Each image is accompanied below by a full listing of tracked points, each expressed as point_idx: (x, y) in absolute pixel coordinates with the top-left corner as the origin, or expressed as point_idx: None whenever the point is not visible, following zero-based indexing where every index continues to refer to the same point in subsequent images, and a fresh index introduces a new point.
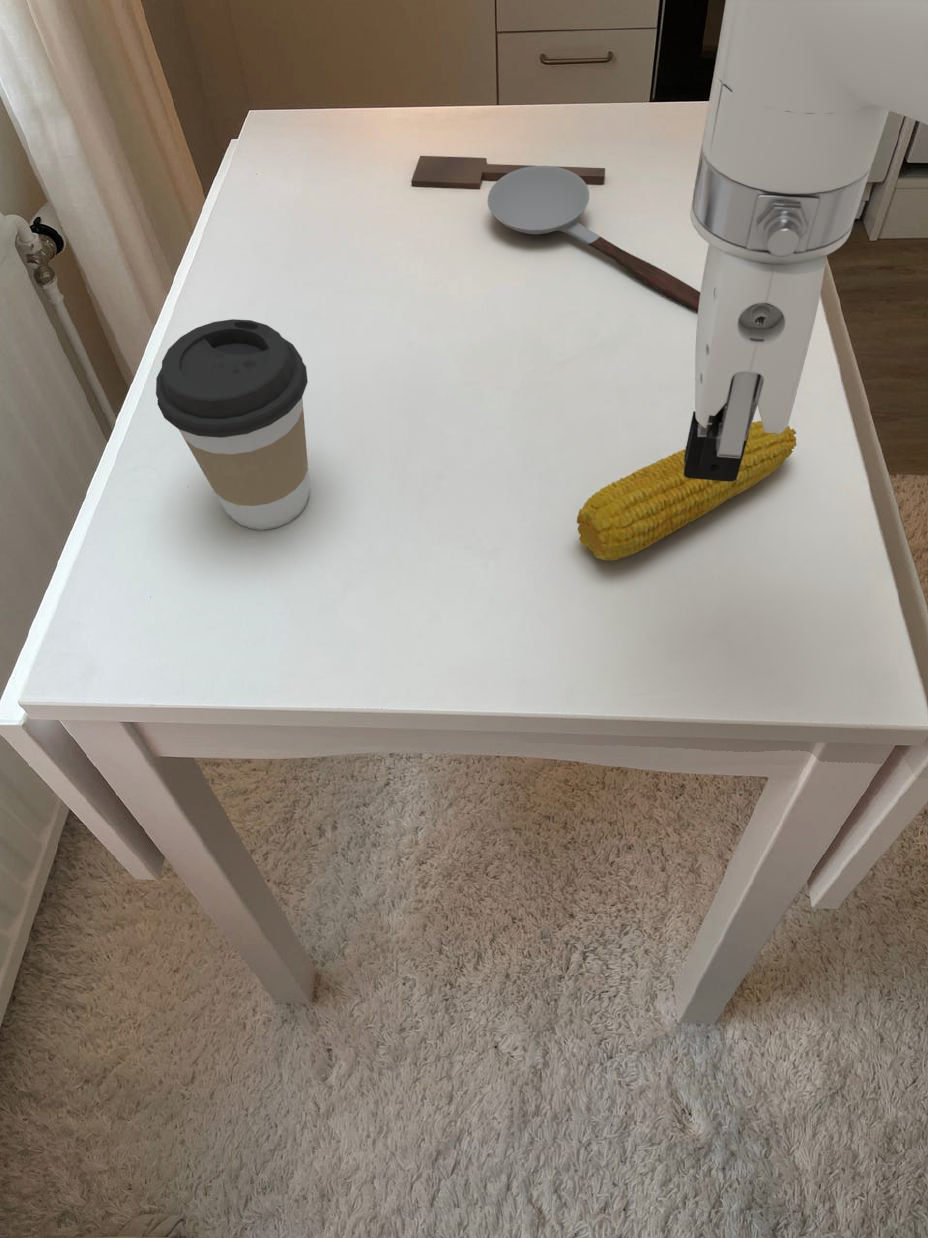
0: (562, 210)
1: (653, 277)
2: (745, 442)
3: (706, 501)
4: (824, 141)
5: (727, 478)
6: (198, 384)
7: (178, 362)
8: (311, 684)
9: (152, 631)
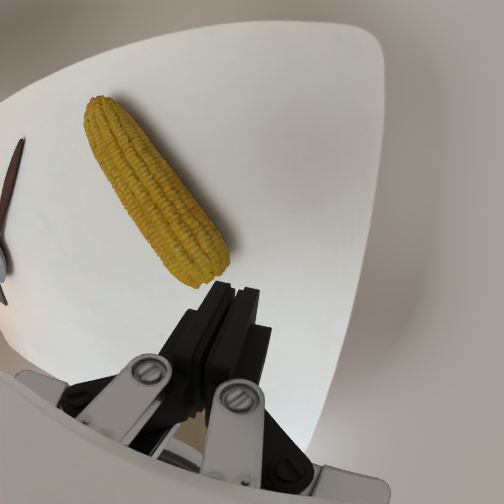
0: None
1: (6, 196)
2: (237, 351)
3: (166, 175)
4: None
5: (257, 301)
6: None
7: None
8: (314, 397)
9: None
